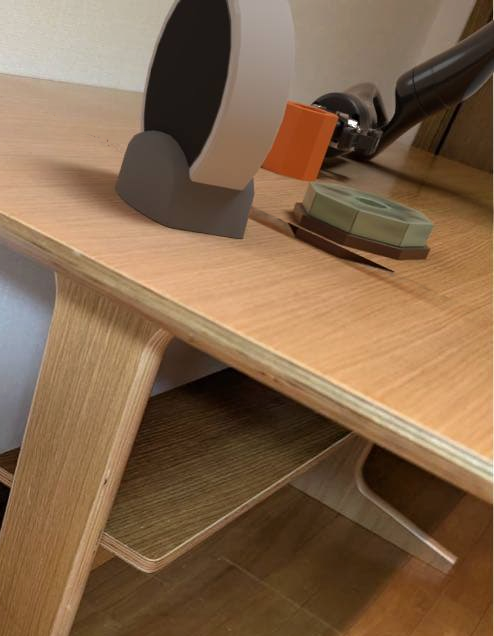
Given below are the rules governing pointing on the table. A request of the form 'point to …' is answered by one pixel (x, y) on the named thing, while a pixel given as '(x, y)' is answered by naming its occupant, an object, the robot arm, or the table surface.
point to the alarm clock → (210, 113)
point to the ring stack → (360, 224)
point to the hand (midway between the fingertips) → (308, 127)
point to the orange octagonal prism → (301, 142)
